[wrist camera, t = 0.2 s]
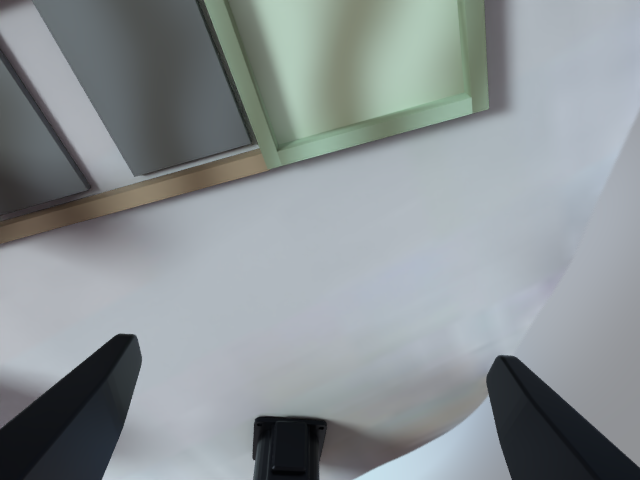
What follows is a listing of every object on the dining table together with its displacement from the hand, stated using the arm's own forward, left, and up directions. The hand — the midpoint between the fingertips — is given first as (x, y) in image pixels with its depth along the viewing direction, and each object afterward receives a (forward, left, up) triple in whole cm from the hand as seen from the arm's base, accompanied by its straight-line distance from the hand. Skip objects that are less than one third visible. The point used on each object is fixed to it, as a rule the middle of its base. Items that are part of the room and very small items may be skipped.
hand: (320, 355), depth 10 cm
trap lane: (+2, +11, -15) cm, 18 cm away
